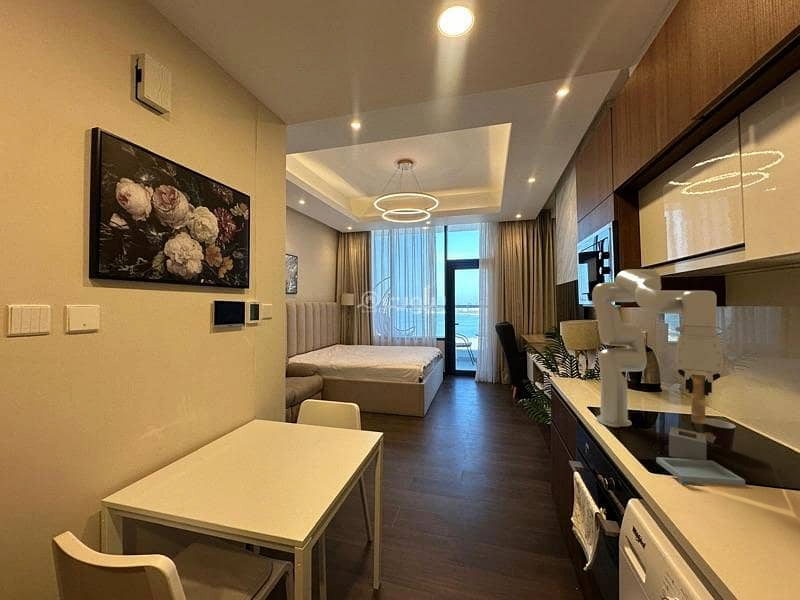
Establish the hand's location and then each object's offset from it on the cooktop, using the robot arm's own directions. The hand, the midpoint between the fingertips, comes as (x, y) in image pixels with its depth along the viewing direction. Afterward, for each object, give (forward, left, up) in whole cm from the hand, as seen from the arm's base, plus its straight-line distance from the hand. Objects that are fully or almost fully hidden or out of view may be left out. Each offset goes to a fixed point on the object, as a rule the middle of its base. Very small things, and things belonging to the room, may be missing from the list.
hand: (698, 393), depth 96 cm
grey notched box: (-12, +5, -25) cm, 28 cm away
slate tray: (0, 0, -25) cm, 25 cm away
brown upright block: (+1, +1, -9) cm, 9 cm away
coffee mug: (-20, +19, -25) cm, 37 cm away
